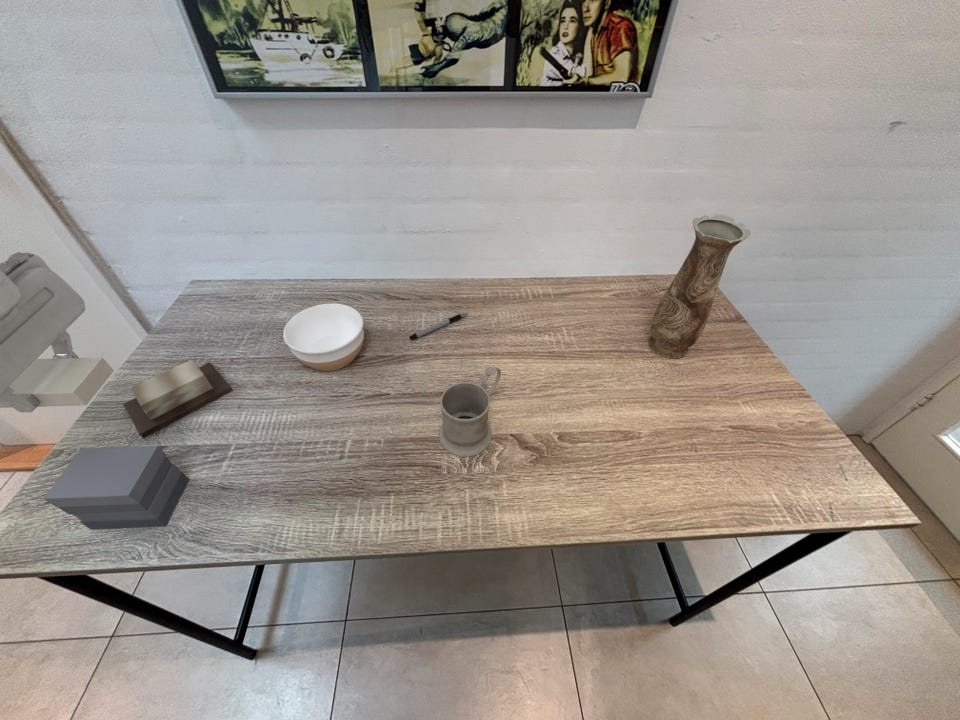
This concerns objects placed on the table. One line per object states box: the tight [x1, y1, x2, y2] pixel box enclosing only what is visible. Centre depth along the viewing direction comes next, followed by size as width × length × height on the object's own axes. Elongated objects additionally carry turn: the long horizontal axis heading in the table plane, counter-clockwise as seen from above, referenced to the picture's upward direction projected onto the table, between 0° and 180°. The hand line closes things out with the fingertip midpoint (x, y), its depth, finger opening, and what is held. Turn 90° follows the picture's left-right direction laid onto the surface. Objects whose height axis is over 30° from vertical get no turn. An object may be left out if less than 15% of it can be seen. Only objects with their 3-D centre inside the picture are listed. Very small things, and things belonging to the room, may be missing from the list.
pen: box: [409, 312, 468, 341], centre depth 97 cm, size 1×16×1 cm, turn 127°
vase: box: [647, 214, 751, 360], centre depth 85 cm, size 10×11×30 cm
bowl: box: [282, 303, 365, 372], centre depth 88 cm, size 16×16×8 cm
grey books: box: [43, 445, 190, 531], centre depth 62 cm, size 11×8×10 cm
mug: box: [438, 366, 502, 458], centre depth 73 cm, size 14×10×12 cm
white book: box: [0, 356, 114, 409], centre depth 51 cm, size 11×6×2 cm, turn 93°
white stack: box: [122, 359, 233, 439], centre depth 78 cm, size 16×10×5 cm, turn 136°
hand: (52, 385), depth 52 cm, fingers closed on white book, 6 cm apart
